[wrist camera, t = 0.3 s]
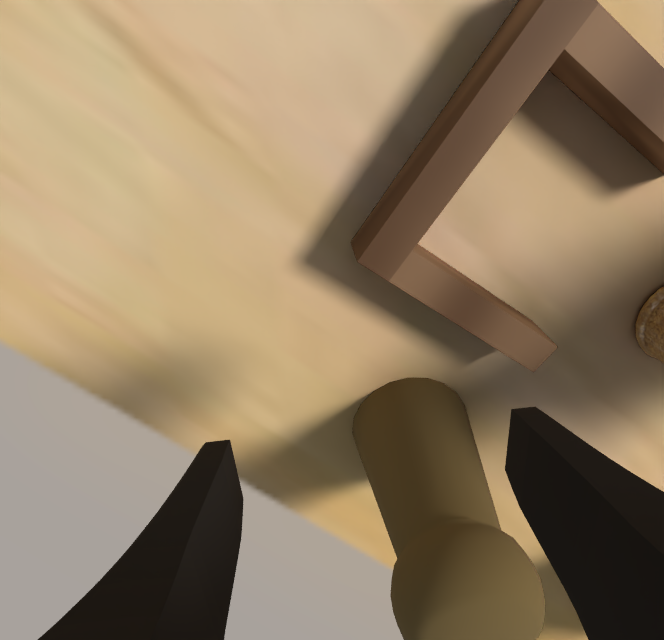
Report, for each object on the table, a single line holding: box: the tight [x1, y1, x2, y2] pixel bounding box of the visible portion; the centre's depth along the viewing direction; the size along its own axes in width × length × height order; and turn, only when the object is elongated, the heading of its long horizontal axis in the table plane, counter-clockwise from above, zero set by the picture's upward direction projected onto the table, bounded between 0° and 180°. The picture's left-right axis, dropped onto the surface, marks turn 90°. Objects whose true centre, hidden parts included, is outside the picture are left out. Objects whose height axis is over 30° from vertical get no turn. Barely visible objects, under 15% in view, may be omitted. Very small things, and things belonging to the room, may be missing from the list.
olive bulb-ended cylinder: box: [352, 378, 545, 640], centre depth 20 cm, size 6×6×11 cm
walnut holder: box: [351, 0, 664, 372], centre depth 19 cm, size 10×11×2 cm
